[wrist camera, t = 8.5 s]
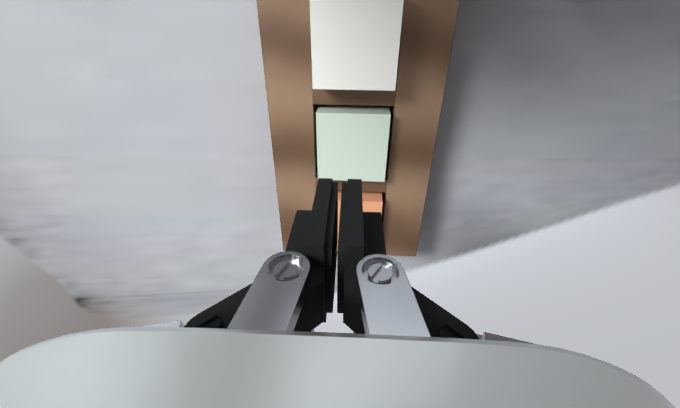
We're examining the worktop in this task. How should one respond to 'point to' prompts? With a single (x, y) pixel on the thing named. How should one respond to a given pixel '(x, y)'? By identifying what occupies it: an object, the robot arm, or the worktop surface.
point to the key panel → (404, 104)
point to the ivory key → (355, 43)
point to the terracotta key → (365, 203)
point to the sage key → (352, 141)
